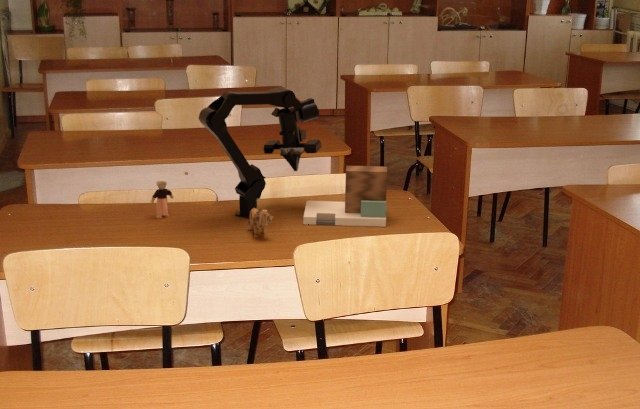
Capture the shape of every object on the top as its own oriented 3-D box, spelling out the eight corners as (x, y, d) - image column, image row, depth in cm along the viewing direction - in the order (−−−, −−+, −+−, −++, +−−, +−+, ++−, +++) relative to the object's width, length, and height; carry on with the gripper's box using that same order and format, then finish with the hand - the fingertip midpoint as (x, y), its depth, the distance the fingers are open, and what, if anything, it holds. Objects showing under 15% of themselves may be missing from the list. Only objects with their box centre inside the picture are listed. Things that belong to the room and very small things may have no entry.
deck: (303, 224, 248) (303, 201, 246) (306, 207, 263) (306, 186, 261) (385, 226, 247) (386, 204, 245) (384, 209, 262) (385, 188, 260)
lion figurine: (274, 238, 236) (274, 210, 233) (258, 241, 234) (258, 213, 231) (256, 223, 249) (255, 196, 246) (240, 225, 246) (239, 198, 243)
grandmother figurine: (157, 220, 250) (155, 182, 246) (150, 217, 252) (148, 179, 248) (176, 214, 255) (175, 177, 251) (169, 211, 258) (167, 174, 254)
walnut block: (344, 212, 251) (345, 170, 247) (345, 206, 257) (346, 165, 253) (385, 214, 251) (387, 172, 246) (385, 207, 256) (386, 166, 252)
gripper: (324, 117, 257) (330, 161, 264) (272, 118, 264) (279, 161, 270) (312, 128, 248) (319, 174, 254) (258, 129, 255) (266, 174, 261)
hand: (296, 170), depth 260 cm, fingers closed
